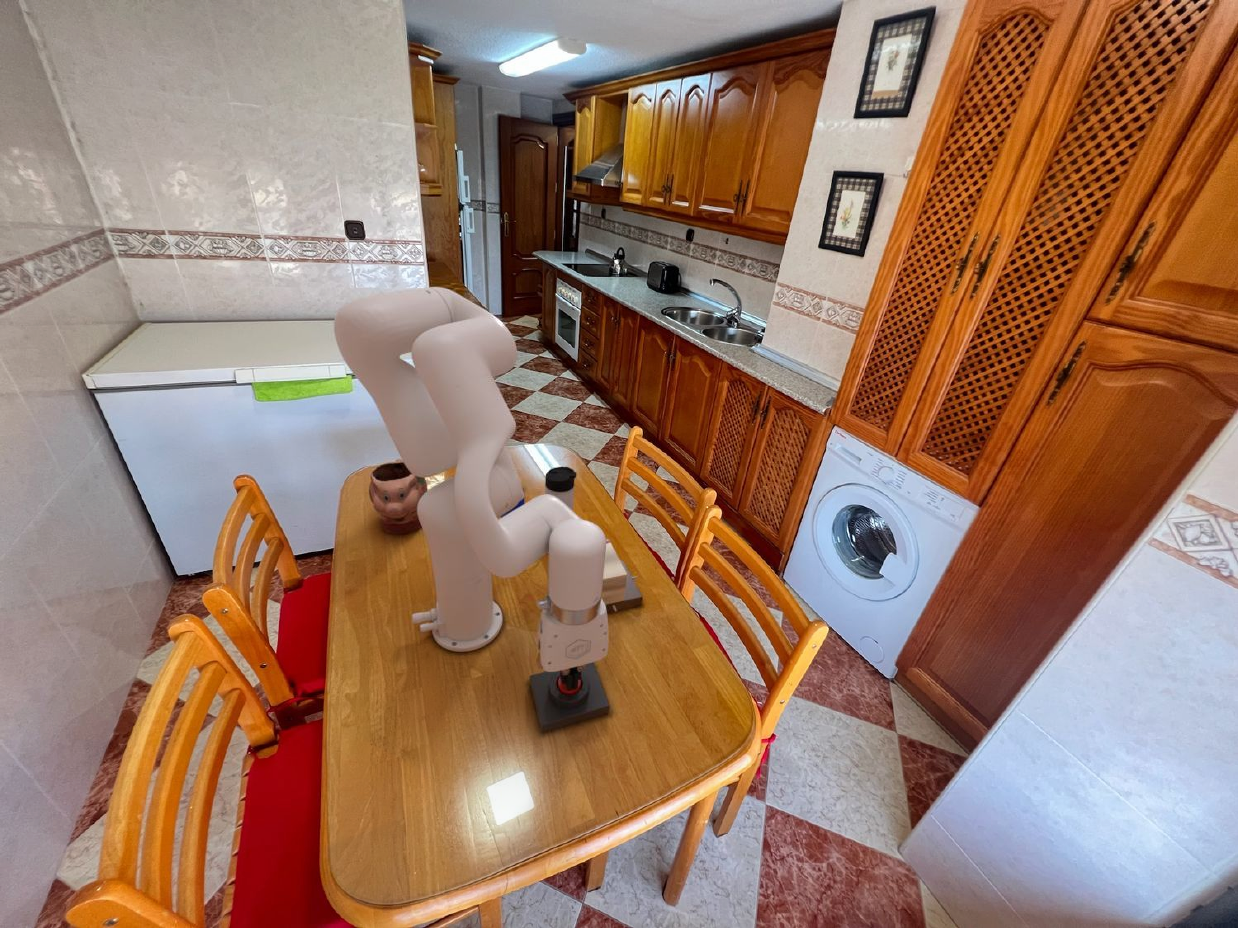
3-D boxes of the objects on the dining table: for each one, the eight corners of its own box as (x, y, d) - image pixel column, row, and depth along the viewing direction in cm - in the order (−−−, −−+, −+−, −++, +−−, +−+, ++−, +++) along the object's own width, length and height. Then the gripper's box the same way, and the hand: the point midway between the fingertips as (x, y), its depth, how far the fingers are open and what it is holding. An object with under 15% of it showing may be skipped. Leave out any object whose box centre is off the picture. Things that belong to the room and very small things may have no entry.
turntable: (577, 628, 94) (578, 619, 93) (557, 574, 106) (558, 565, 105) (650, 612, 99) (651, 602, 98) (623, 562, 111) (624, 553, 110)
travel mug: (568, 556, 111) (571, 481, 101) (540, 550, 112) (541, 476, 102) (576, 539, 117) (580, 466, 107) (549, 533, 118) (550, 461, 107)
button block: (541, 733, 76) (541, 718, 74) (529, 683, 83) (529, 668, 81) (608, 713, 80) (610, 698, 78) (592, 667, 87) (593, 652, 85)
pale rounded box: (624, 600, 98) (627, 573, 94) (600, 605, 96) (602, 578, 93) (606, 563, 107) (608, 537, 103) (583, 567, 105) (585, 541, 101)
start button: (561, 701, 78) (561, 694, 77) (555, 681, 81) (555, 674, 80) (582, 695, 80) (583, 688, 79) (576, 676, 82) (577, 669, 82)
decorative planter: (374, 499, 123) (365, 450, 116) (426, 491, 128) (420, 444, 121) (375, 549, 108) (364, 497, 101) (435, 539, 113) (428, 488, 106)
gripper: (527, 632, 65) (528, 716, 74) (633, 608, 70) (621, 690, 79) (516, 591, 71) (519, 674, 80) (615, 572, 76) (606, 652, 85)
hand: (570, 681), depth 79 cm, fingers closed
